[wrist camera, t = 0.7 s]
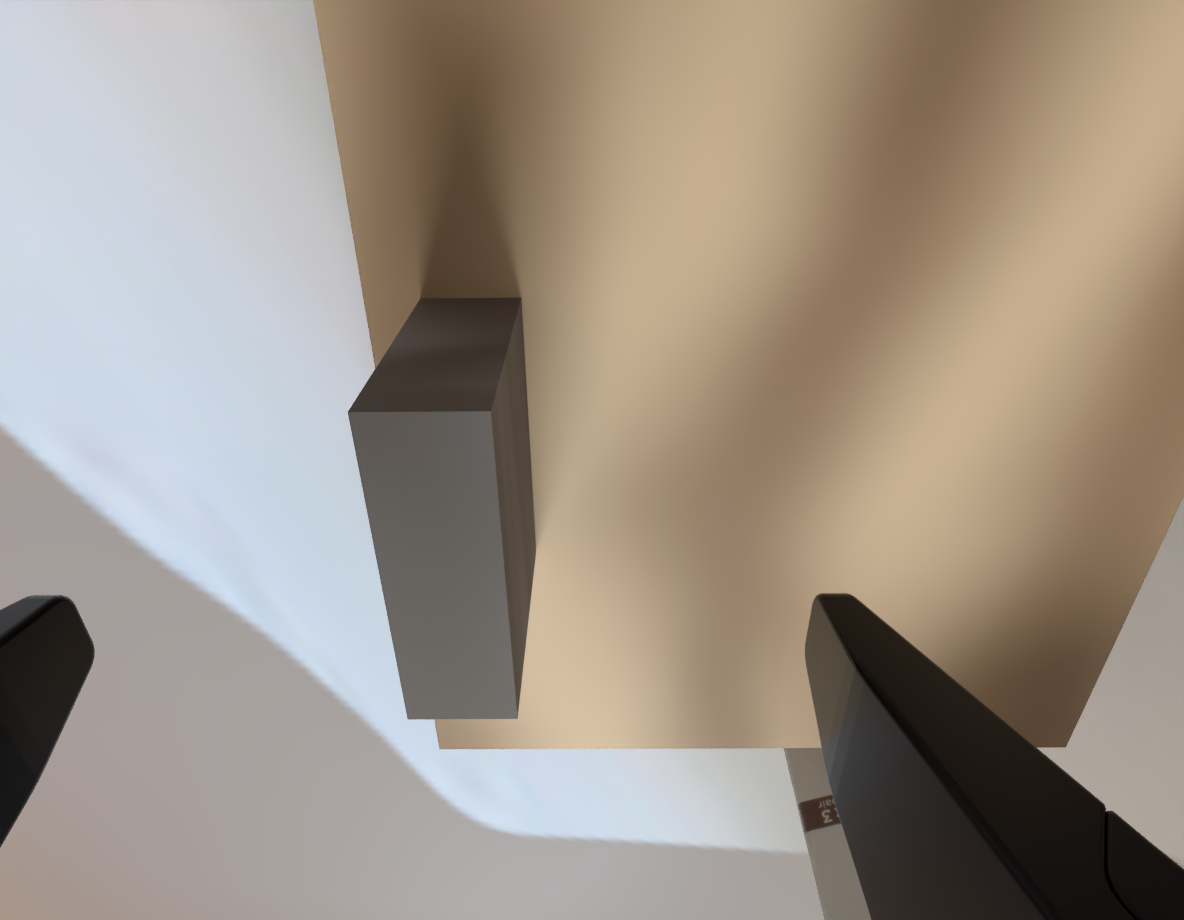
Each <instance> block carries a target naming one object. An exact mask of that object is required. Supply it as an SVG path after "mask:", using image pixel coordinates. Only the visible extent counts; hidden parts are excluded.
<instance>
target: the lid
mask: <svg viewBox="0 0 1184 920" xmlns="http://www.w3.org/2000/svg"><path fill="white" fill-rule="evenodd" d="M313 1H314V7H315V13H316V19H317V25H318V31H319V37H320V43H321V49H322V55H323V61H324V67H325V73H326V79H327V84H328V90H329V96H330V102H331V108H332V114H333V120H334V126H335V132H336V138H337V144H338V150H339V156H340V162H341V167H342V173H343V179H344V185H345V191H346V197H347V203H348V209H349V215H350V221H351V227H352V233H353V239H354V245H355V251H356V256H357V262H358V268H359V274H360V280H361V286H362V292H363V298H364V304H365V310H366V316H367V322H368V328H369V334H370V339H371V345H372V351H373V357H374V363H375V370H374V372H373V374H372V375H371V377H370V378H369V380H368V381H367V383H366V385H365V386H364V388H363V389H362V391H361V392H360V394H359V396H358V397H357V399H356V400H355V402H354V403H353V405H352V407H351V408H350V410H349V411H348V415H349V420H350V426H351V431H352V436H353V441H354V446H355V451H356V456H357V461H358V467H359V472H360V477H361V482H362V487H363V492H364V497H365V502H366V508H367V513H368V518H369V523H370V528H371V533H372V538H373V543H374V549H375V554H376V559H377V564H378V569H379V574H380V579H381V584H382V590H383V595H384V600H385V605H386V610H387V615H388V620H389V625H390V631H391V636H392V641H393V646H394V651H395V656H396V661H397V666H398V672H399V677H400V682H401V687H402V692H403V697H404V702H405V707H406V713H407V718H408V719H435V725H436V731H437V737H438V743H439V749H637V748H822V746H821V741H820V736H819V731H818V725H817V720H816V715H815V710H814V705H813V699H812V694H811V689H810V684H809V678H808V673H807V668H806V662H805V641H806V636H807V630H808V625H809V619H810V614H811V608H812V604H813V601H814V598H815V597H816V596H817V595H818V594H821V593H847V594H851V595H853V596H854V597H856V598H857V599H858V600H860V601H861V602H862V603H863V604H864V605H866V606H867V607H868V608H869V609H870V610H872V611H873V612H874V613H875V614H876V615H878V616H879V617H880V618H881V619H882V620H884V621H885V622H886V623H887V624H888V625H890V626H891V627H892V628H893V629H894V630H896V631H897V632H898V633H899V634H900V635H902V636H903V637H904V638H905V639H906V640H908V641H909V642H910V643H911V644H912V645H914V646H915V647H916V648H917V649H918V650H920V651H921V652H922V653H923V654H924V655H926V656H927V657H928V658H929V659H930V660H932V661H933V662H934V663H935V664H936V665H938V666H939V667H940V668H941V669H942V670H944V671H945V672H946V673H947V674H948V675H950V676H951V677H952V678H953V679H954V680H956V681H957V682H958V683H959V684H960V685H962V686H963V687H964V688H965V689H966V690H968V691H969V692H970V693H971V694H972V695H974V696H975V697H976V698H977V699H978V700H980V701H981V702H982V703H983V704H984V705H986V706H987V707H988V708H989V709H990V710H992V711H993V712H994V713H995V714H996V715H998V716H999V717H1000V718H1001V719H1002V720H1004V721H1005V722H1006V723H1007V724H1008V725H1010V726H1011V727H1012V728H1013V729H1014V730H1016V731H1017V732H1018V733H1019V734H1020V735H1022V736H1023V737H1024V738H1025V739H1026V740H1028V741H1029V742H1030V743H1031V744H1032V745H1034V746H1035V747H1066V745H1067V743H1068V741H1069V739H1070V737H1071V735H1072V733H1073V731H1074V728H1075V726H1076V724H1077V722H1078V720H1079V718H1080V716H1081V714H1082V711H1083V709H1084V707H1085V705H1086V703H1087V701H1088V699H1089V697H1090V694H1091V692H1092V690H1093V688H1094V686H1095V684H1096V682H1097V679H1098V677H1099V675H1100V673H1101V671H1102V669H1103V667H1104V665H1105V662H1106V660H1107V658H1108V656H1109V654H1110V652H1111V650H1112V648H1113V645H1114V643H1115V641H1116V639H1117V637H1118V635H1119V633H1120V631H1121V628H1122V626H1123V624H1124V622H1125V620H1126V618H1127V616H1128V614H1129V611H1130V609H1131V607H1132V605H1133V603H1134V601H1135V599H1136V597H1137V594H1138V592H1139V590H1140V588H1141V586H1142V584H1143V582H1144V579H1145V577H1146V575H1147V573H1148V571H1149V569H1150V567H1151V565H1152V562H1153V560H1154V558H1155V556H1156V554H1157V552H1158V550H1159V548H1160V545H1161V543H1162V541H1163V539H1164V537H1165V535H1166V533H1167V531H1168V528H1169V526H1170V524H1171V522H1172V520H1173V518H1174V516H1175V514H1176V511H1177V509H1178V507H1179V505H1180V503H1181V501H1182V499H1183V497H1184V0H313Z"/></svg>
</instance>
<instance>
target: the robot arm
mask: <svg viewBox="0 0 1184 920" xmlns="http://www.w3.org/2000/svg"><path fill="white" fill-rule="evenodd" d="M94 652H95V651H94V644H93V641H92V639H91V637H90V635H89V633H88V631H87V629H86V627H85V625H84V623H83V620H82V618H81V616H80V614H79V612H78V610H77V608H76V606H75V604H74V602H73V601H72V600H71V599H69V598H68V597H66V596H63V595H33V596H28V597H26V598H23V599H21V600H19V601H17V602H15V603H13V604H11V605H9V606H7V607H5V608H3V609H2V610H0V847H1V846H2V844H3V842H4V840H5V839H6V837H7V835H8V834H9V832H10V830H11V828H12V827H13V825H14V823H15V821H16V820H17V818H18V816H19V815H20V813H21V811H22V809H23V808H24V806H25V804H26V803H27V801H28V799H29V797H30V795H31V794H32V792H33V790H34V788H35V786H36V784H37V783H38V781H39V779H40V777H41V774H42V773H43V771H44V768H45V766H46V764H47V762H48V760H49V758H50V756H51V754H52V752H53V749H54V747H55V745H56V743H57V741H58V739H59V736H60V734H61V732H62V730H63V728H64V725H65V723H66V721H67V719H68V717H69V715H70V712H71V710H72V708H73V706H74V703H75V702H76V699H77V697H78V695H79V693H80V691H81V688H82V686H83V684H84V682H85V680H86V678H87V675H88V673H89V671H90V669H91V667H92V664H93V660H94ZM805 662H806V668H807V673H808V678H809V684H810V689H811V694H812V699H813V705H814V710H815V715H816V720H817V725H818V731H819V736H820V741H821V746H822V752H823V757H824V762H825V767H826V771H827V776H828V781H829V785H830V788H831V792H832V795H833V799H834V802H835V806H836V809H837V812H838V815H839V818H840V822H841V825H842V828H843V831H844V834H845V837H846V841H847V844H848V847H849V850H850V853H851V857H852V860H853V863H854V866H855V869H856V873H857V876H858V879H859V882H860V885H861V889H862V892H863V895H864V898H865V901H866V905H867V908H868V911H869V914H870V917H871V920H1184V869H1183V868H1182V867H1181V866H1179V865H1178V864H1177V863H1176V862H1174V861H1173V860H1172V859H1171V858H1169V857H1168V856H1167V855H1166V854H1164V853H1163V852H1162V851H1161V850H1159V849H1158V848H1157V847H1156V846H1154V845H1153V844H1152V843H1151V842H1149V841H1148V840H1147V839H1146V838H1145V837H1143V836H1142V835H1141V834H1140V833H1139V832H1137V831H1136V830H1135V829H1134V828H1133V827H1131V826H1130V825H1129V824H1128V823H1127V822H1125V821H1124V820H1123V819H1122V818H1121V817H1119V816H1118V815H1117V814H1116V813H1115V812H1113V811H1107V812H1106V808H1105V805H1104V804H1103V803H1102V802H1101V801H1100V800H1099V799H1097V798H1096V797H1095V796H1094V795H1093V794H1091V793H1090V792H1089V791H1088V790H1087V789H1085V788H1084V787H1083V786H1082V785H1081V784H1079V783H1078V782H1077V781H1076V780H1075V779H1073V778H1072V777H1071V776H1070V775H1069V774H1067V773H1066V772H1065V771H1064V770H1062V769H1061V768H1060V767H1059V766H1058V765H1056V764H1055V763H1054V762H1053V761H1052V760H1050V759H1049V758H1048V757H1047V756H1046V755H1044V754H1043V753H1042V752H1041V751H1040V750H1038V749H1037V748H1036V747H1035V746H1034V745H1032V744H1031V743H1030V742H1029V741H1028V740H1026V739H1025V738H1024V737H1023V736H1022V735H1020V734H1019V733H1018V732H1017V731H1016V730H1014V729H1013V728H1012V727H1011V726H1010V725H1008V724H1007V723H1006V722H1005V721H1004V720H1002V719H1001V718H1000V717H999V716H998V715H996V714H995V713H994V712H993V711H992V710H990V709H989V708H988V707H987V706H986V705H984V704H983V703H982V702H981V701H980V700H978V699H977V698H976V697H975V696H974V695H972V694H971V693H970V692H969V691H968V690H966V689H965V688H964V687H963V686H962V685H960V684H959V683H958V682H957V681H956V680H954V679H953V678H952V677H951V676H950V675H948V674H947V673H946V672H945V671H944V670H942V669H941V668H940V667H939V666H938V665H936V664H935V663H934V662H933V661H932V660H930V659H929V658H928V657H927V656H926V655H924V654H923V653H922V652H921V651H920V650H918V649H917V648H916V647H915V646H914V645H912V644H911V643H910V642H909V641H908V640H906V639H905V638H904V637H903V636H902V635H900V634H899V633H898V632H897V631H896V630H894V629H893V628H892V627H891V626H890V625H888V624H887V623H886V622H885V621H884V620H882V619H881V618H880V617H879V616H878V615H876V614H875V613H874V612H873V611H872V610H870V609H869V608H868V607H867V606H866V605H864V604H863V603H862V602H861V601H860V600H858V599H857V598H856V597H854V596H853V595H851V594H847V593H821V594H818V595H817V596H816V597H815V598H814V601H813V604H812V608H811V614H810V619H809V625H808V630H807V636H806V641H805Z"/></svg>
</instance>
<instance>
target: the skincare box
mask: <svg viewBox="0 0 1184 920" xmlns="http://www.w3.org/2000/svg"><path fill="white" fill-rule="evenodd" d="M784 751H785V756H786V760H787V764H788V769H789V773H790V777H791V781H792V785H793V789H794V793H795V797H796V802H797V806H798V811H799V815H800V819H801V824H802V828H803V832H804V836H805V840H806V844H807V848H808V852H809V856H810V860H811V864H812V868H813V873H814V877H815V881H816V885H817V890H818V894H819V898H820V902H821V907H822V910H823V915H824V919H825V920H871V917H870V914H869V911H868V908H867V905H866V901H865V898H864V895H863V892H862V889H861V885H860V882H859V879H858V876H857V873H856V869H855V866H854V863H853V860H852V857H851V853H850V850H849V847H848V844H847V841H846V837H845V834H844V831H843V828H842V825H841V822H840V818H839V815H838V812H837V809H836V806H835V802H834V799H833V795H832V792H831V788H830V785H829V781H828V776H827V771H826V767H825V762H824V757H823V752H822V748H784Z"/></svg>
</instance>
